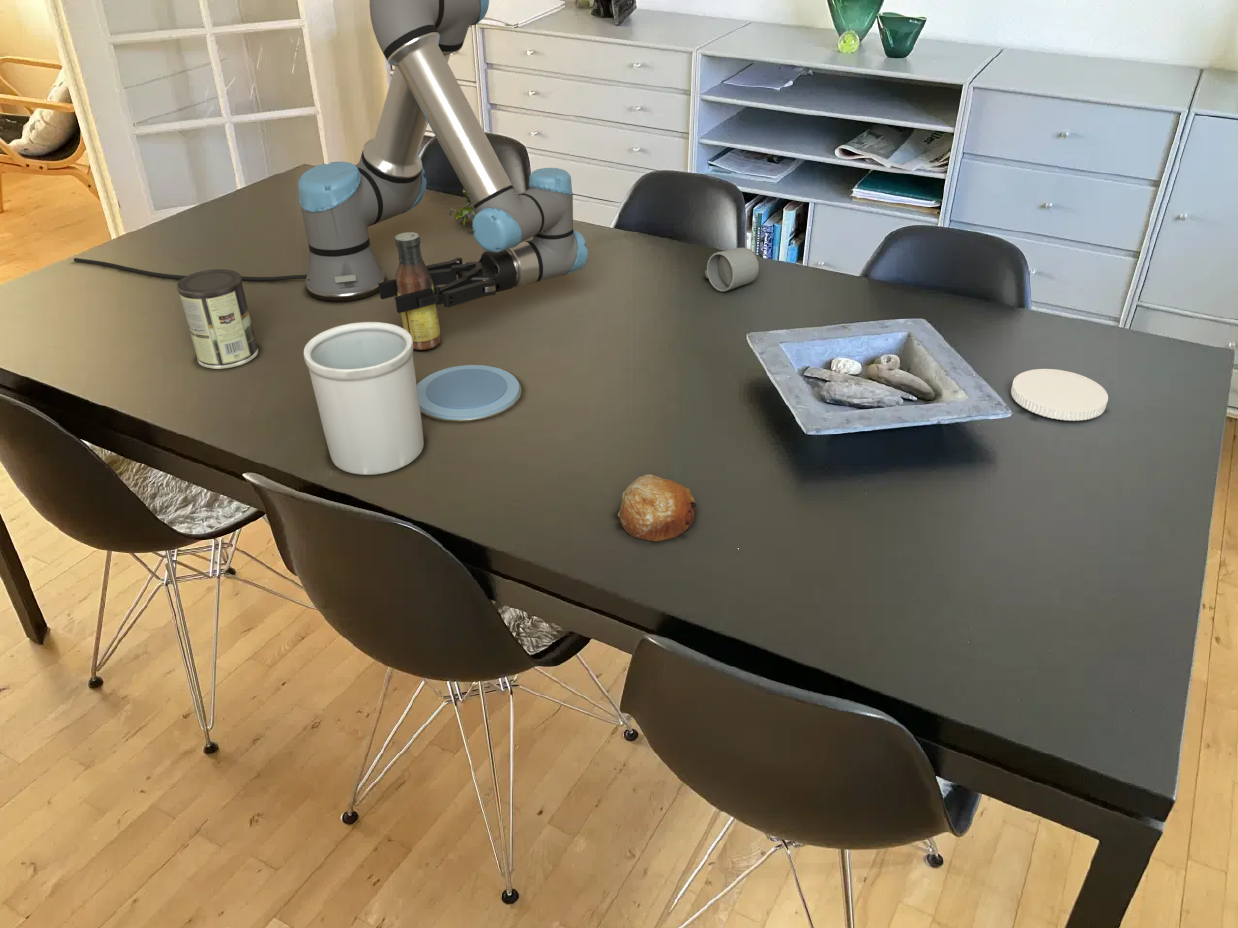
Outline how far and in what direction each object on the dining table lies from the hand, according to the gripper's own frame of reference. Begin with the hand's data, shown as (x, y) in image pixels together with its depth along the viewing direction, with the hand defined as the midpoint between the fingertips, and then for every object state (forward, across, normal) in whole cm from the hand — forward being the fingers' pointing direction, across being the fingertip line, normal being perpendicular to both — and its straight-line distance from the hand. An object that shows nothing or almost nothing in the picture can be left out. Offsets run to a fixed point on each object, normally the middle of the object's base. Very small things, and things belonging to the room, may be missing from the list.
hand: (388, 298), depth 167 cm
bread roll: (-8, -65, -10) cm, 67 cm away
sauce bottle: (-5, 0, -10) cm, 11 cm away
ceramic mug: (-67, -10, -11) cm, 68 cm away
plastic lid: (-78, -77, -10) cm, 110 cm away
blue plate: (-3, -20, -10) cm, 23 cm away
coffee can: (+24, +17, -11) cm, 32 cm away
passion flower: (-42, +48, -11) cm, 65 cm away
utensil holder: (+15, -28, -11) cm, 33 cm away
